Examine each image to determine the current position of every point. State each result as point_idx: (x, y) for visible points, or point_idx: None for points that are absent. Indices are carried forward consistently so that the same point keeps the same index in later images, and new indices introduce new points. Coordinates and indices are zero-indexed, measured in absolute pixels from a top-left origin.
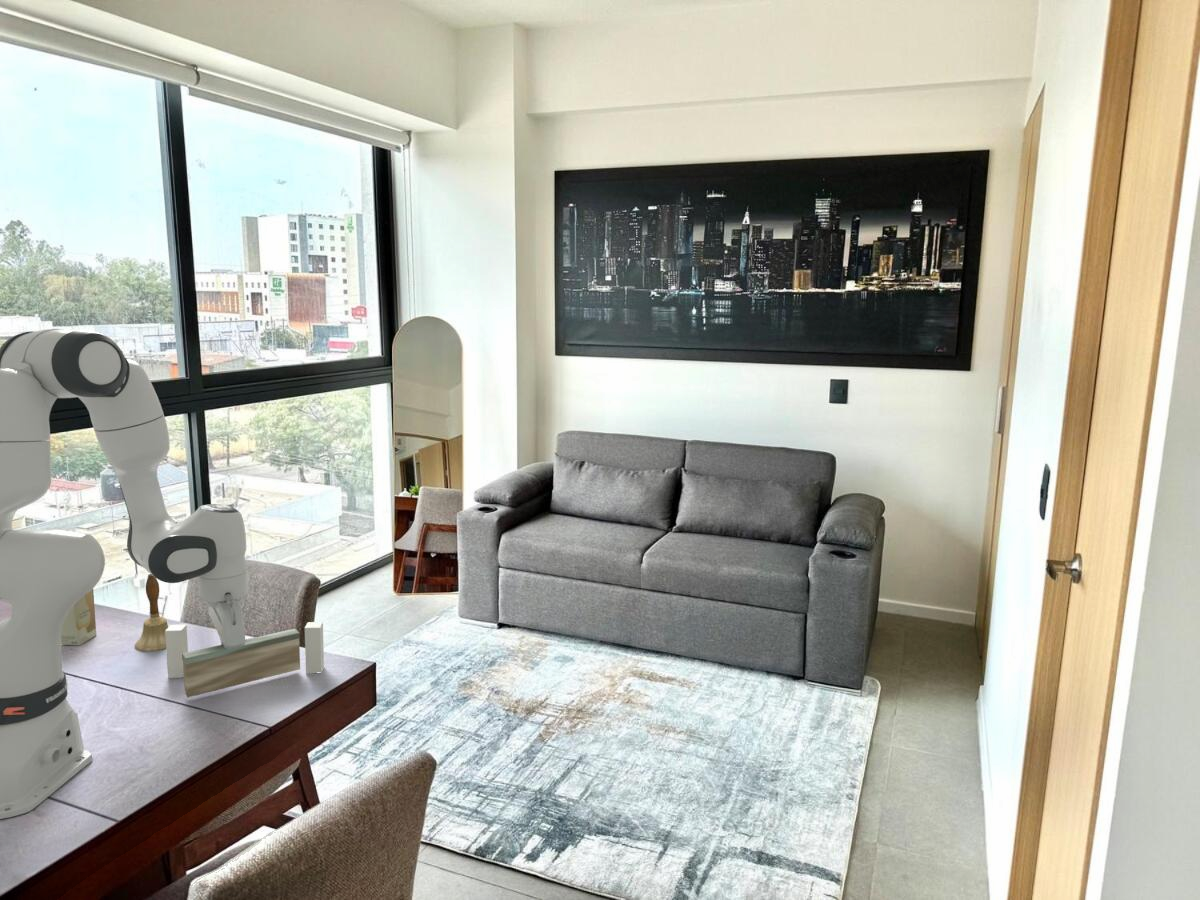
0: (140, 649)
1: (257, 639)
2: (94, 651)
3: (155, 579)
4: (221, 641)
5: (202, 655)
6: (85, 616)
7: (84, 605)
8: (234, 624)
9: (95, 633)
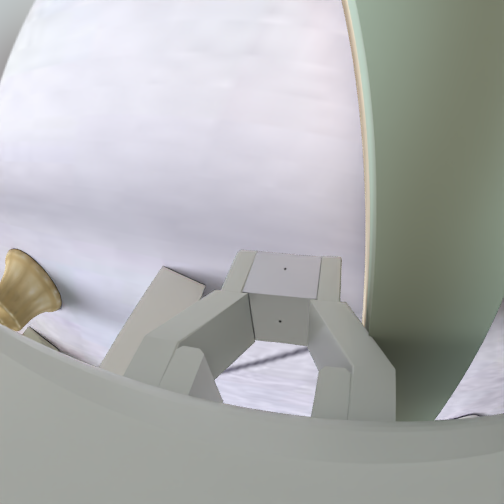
0: (59, 308)
1: (468, 113)
2: (71, 345)
3: None
4: (244, 350)
5: None
6: None
7: None
8: (139, 393)
9: (28, 329)
